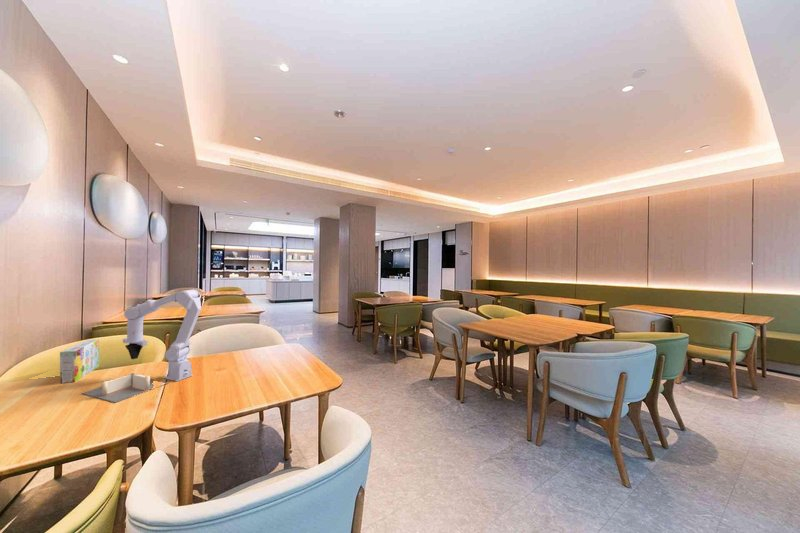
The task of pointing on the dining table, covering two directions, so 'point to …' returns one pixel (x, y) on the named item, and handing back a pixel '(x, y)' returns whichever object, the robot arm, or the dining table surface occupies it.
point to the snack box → (79, 360)
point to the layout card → (117, 393)
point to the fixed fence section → (141, 381)
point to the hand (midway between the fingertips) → (134, 358)
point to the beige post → (117, 384)
